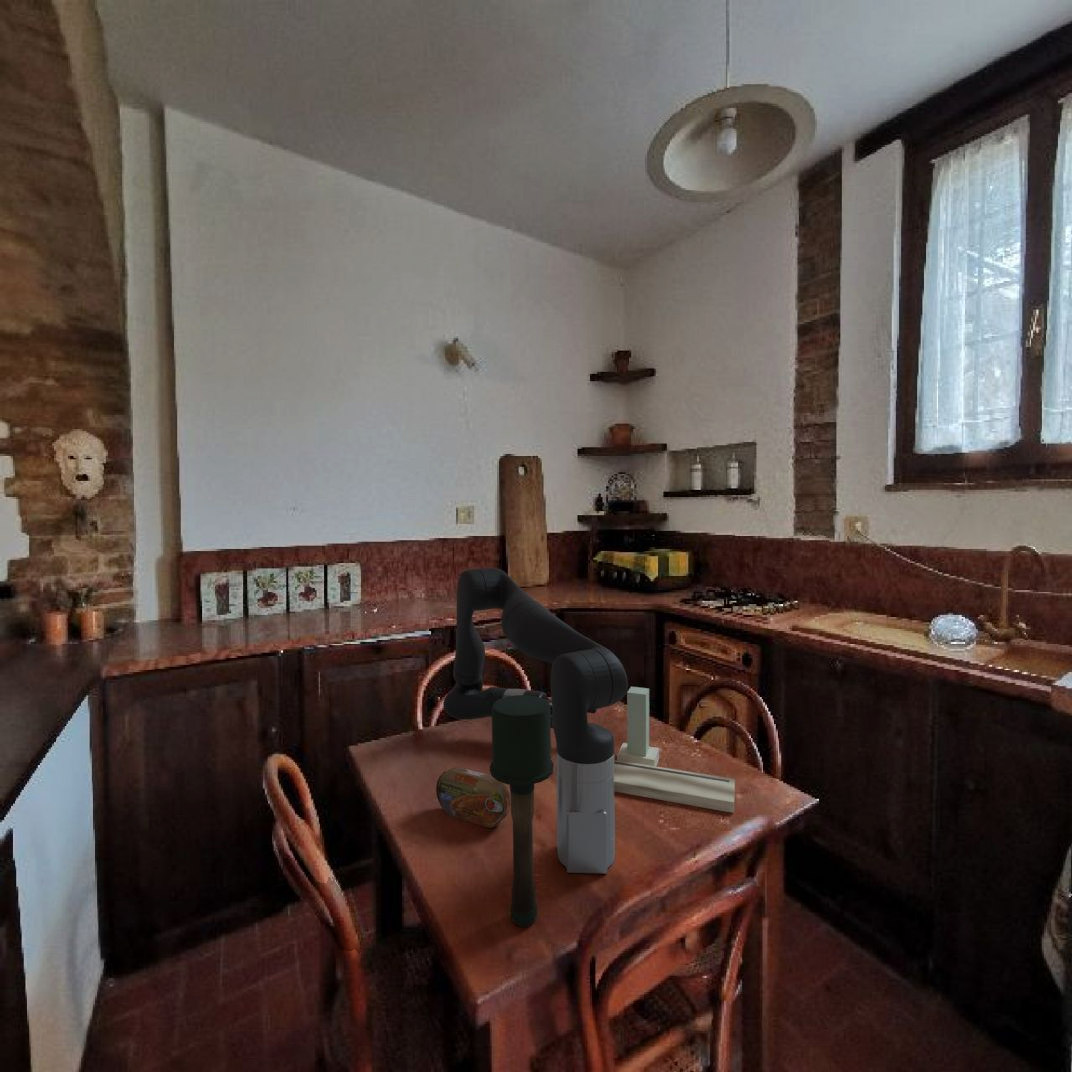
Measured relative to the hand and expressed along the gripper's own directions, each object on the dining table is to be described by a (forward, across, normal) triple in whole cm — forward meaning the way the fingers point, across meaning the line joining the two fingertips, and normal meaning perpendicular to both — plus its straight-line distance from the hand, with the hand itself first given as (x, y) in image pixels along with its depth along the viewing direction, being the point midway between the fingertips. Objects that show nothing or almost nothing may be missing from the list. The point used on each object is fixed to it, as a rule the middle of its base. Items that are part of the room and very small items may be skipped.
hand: (591, 715), depth 123 cm
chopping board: (+18, -9, +9) cm, 22 cm away
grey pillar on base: (+11, 0, +9) cm, 14 cm away
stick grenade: (+4, -51, +9) cm, 52 cm away
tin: (-14, -31, +9) cm, 35 cm away
